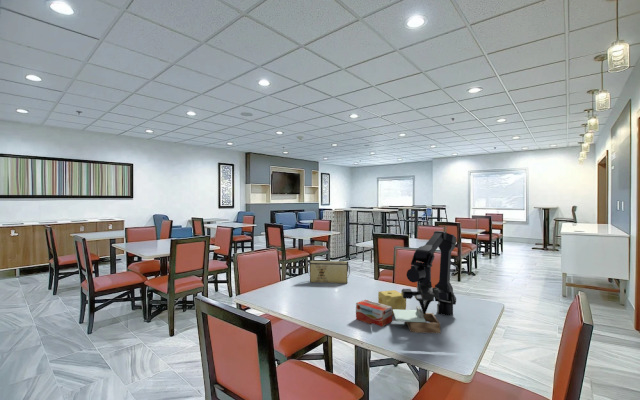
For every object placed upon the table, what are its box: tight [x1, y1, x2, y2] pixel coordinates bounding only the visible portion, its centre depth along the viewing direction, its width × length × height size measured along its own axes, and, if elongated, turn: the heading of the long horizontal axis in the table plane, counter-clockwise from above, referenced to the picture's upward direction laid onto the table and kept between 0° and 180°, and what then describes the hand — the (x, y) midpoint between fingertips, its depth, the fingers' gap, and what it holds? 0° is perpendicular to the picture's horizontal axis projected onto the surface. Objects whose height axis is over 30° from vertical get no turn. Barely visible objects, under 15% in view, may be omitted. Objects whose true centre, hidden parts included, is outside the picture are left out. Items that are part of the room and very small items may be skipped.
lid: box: [393, 306, 425, 323], centre depth 134 cm, size 12×12×3 cm
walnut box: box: [406, 312, 441, 334], centre depth 133 cm, size 12×12×5 cm
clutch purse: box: [306, 260, 351, 284], centre depth 211 cm, size 30×7×15 cm, turn 84°
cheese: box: [377, 289, 407, 316], centre depth 152 cm, size 10×11×10 cm
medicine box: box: [355, 299, 393, 327], centre depth 142 cm, size 15×8×8 cm, turn 47°
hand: (424, 313), depth 133 cm, fingers closed
